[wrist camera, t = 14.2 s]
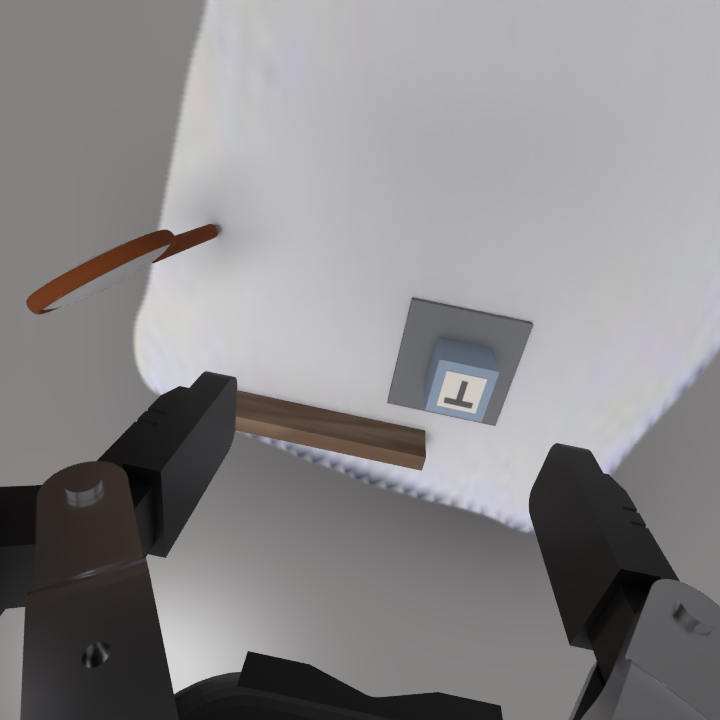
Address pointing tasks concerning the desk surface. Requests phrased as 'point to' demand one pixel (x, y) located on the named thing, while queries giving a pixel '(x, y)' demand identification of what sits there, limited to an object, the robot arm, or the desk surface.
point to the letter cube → (460, 379)
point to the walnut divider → (330, 430)
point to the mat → (464, 327)
